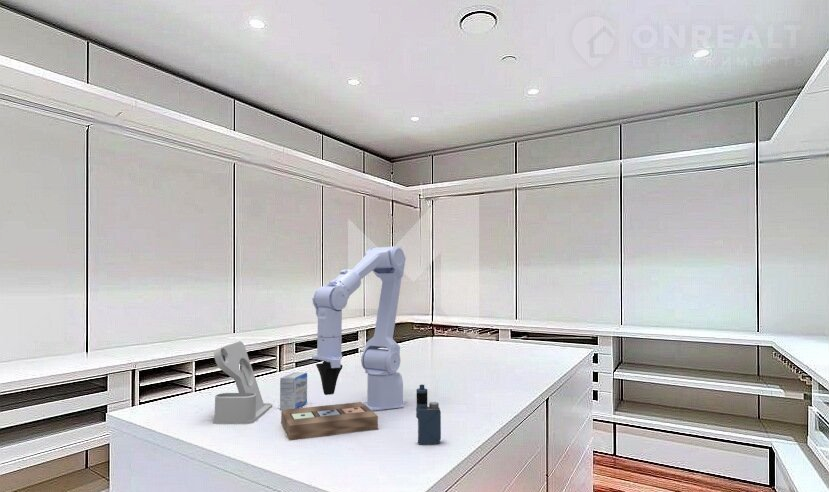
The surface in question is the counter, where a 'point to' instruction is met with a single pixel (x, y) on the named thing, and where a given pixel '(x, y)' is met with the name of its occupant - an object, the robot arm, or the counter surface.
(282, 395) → the medicine box
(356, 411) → the tile
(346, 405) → the block tray
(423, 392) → the vaping device
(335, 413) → the tile
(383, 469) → the counter surface
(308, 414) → the tile
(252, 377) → the phone holder
